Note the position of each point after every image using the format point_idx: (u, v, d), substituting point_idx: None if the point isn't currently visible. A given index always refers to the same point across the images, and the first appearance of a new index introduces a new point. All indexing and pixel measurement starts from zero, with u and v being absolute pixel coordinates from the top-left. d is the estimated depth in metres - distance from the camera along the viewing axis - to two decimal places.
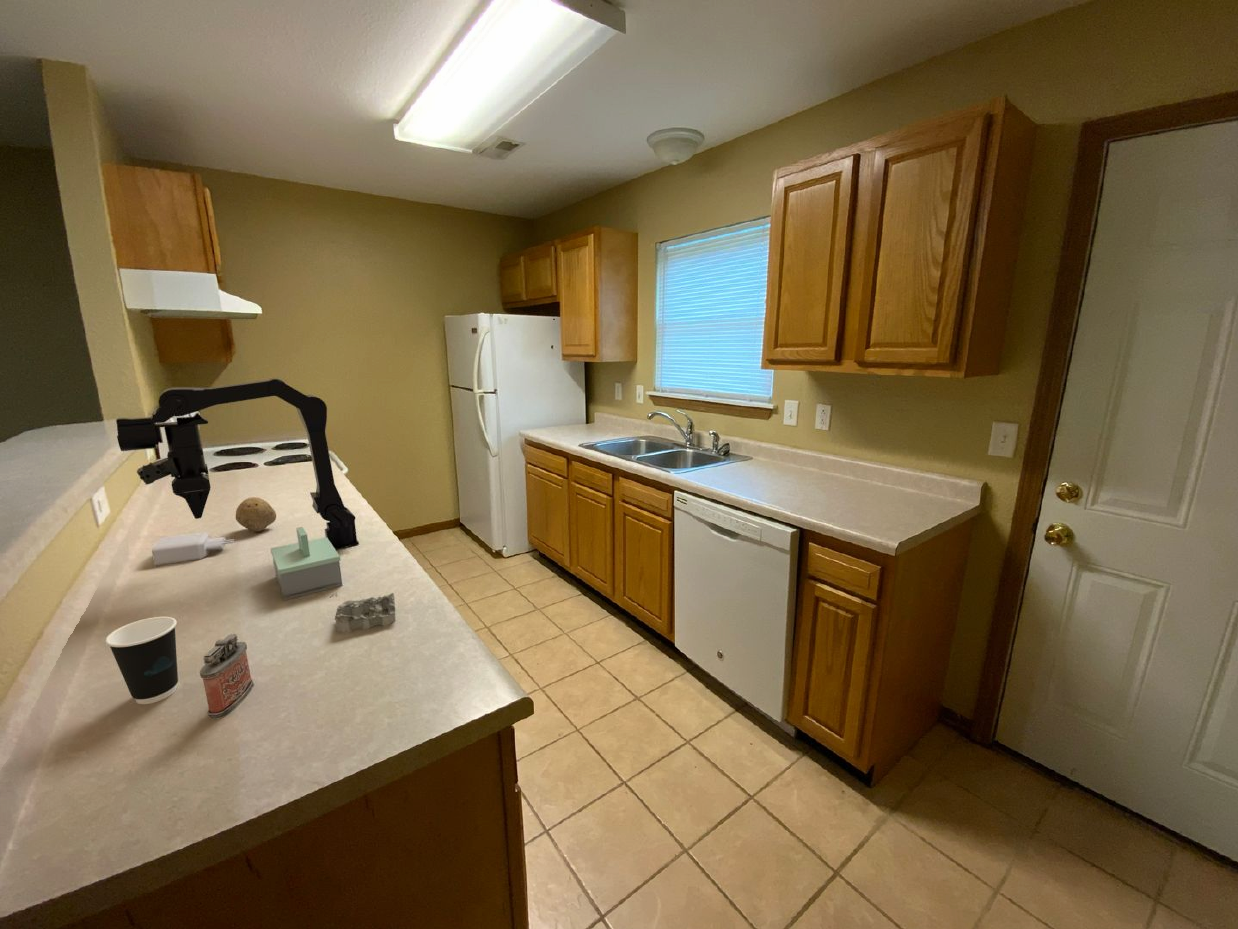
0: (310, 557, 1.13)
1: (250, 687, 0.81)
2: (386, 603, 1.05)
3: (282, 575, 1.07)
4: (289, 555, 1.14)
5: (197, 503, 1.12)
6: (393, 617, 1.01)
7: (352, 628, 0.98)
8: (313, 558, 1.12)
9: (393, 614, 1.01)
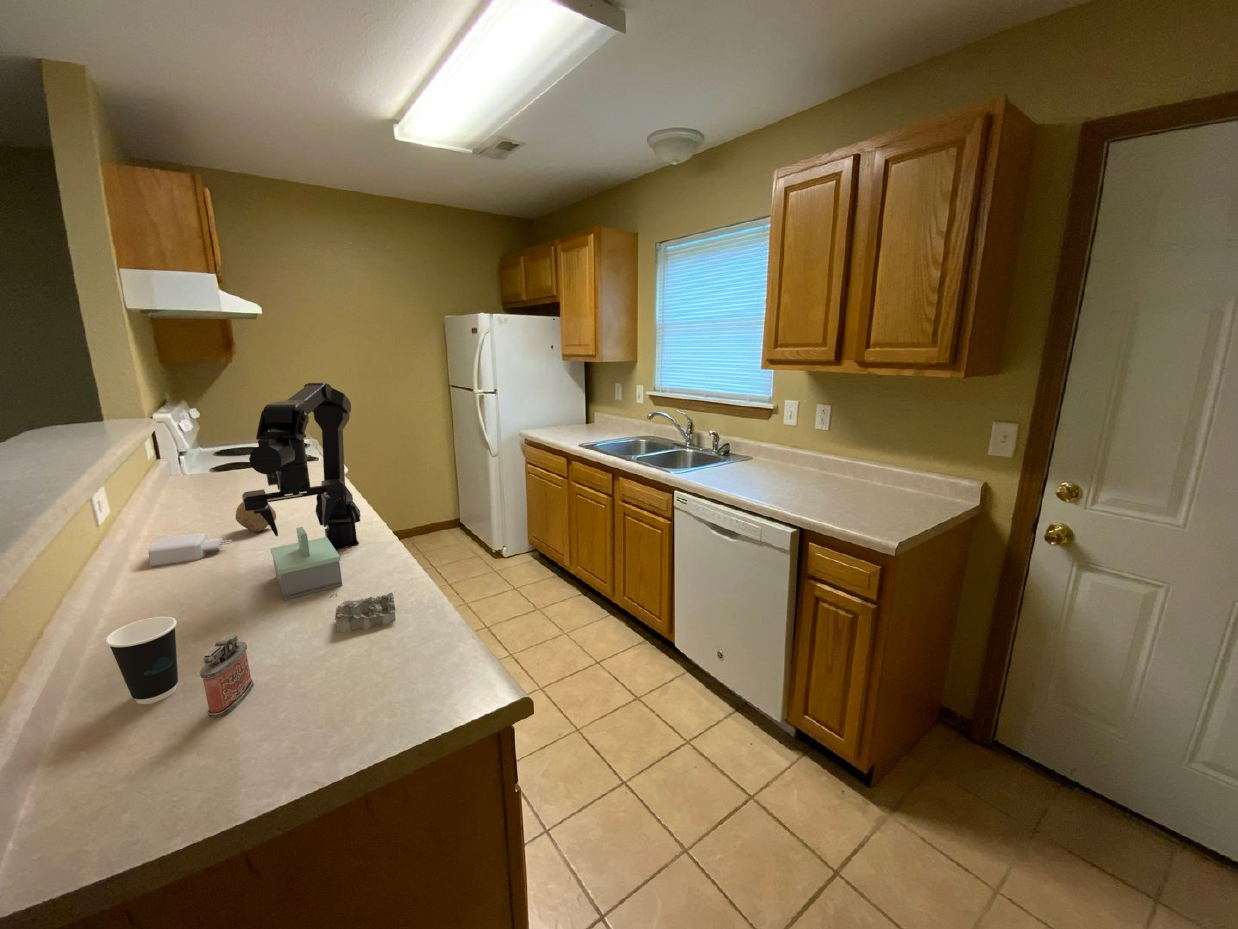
0: (310, 557, 1.13)
1: (250, 687, 0.81)
2: (385, 602, 1.06)
3: (282, 575, 1.07)
4: (289, 555, 1.14)
5: None
6: (393, 616, 1.01)
7: (352, 628, 0.98)
8: (313, 558, 1.12)
9: (393, 613, 1.01)
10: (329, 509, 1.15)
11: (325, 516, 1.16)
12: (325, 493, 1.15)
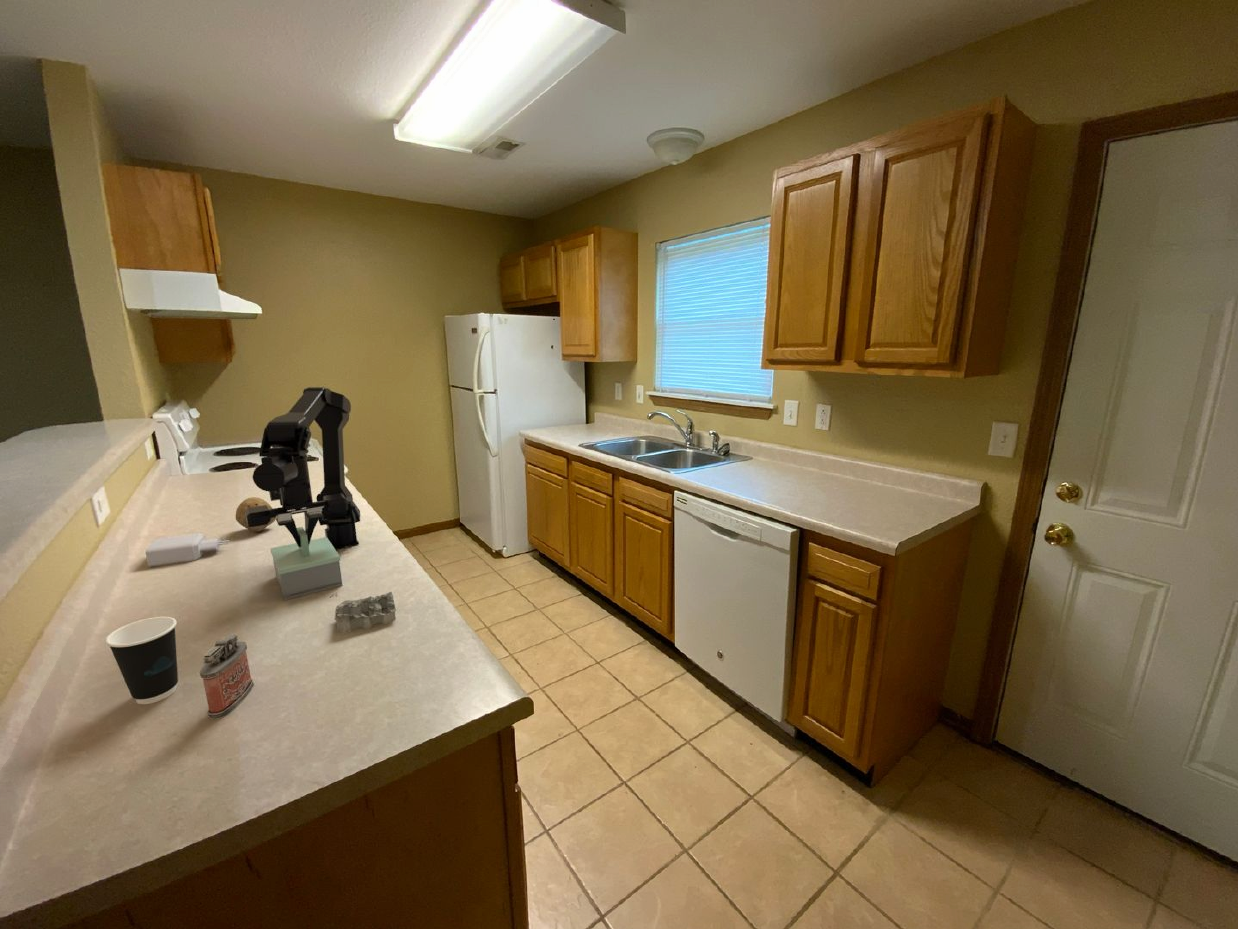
0: (310, 557, 1.13)
1: (250, 687, 0.81)
2: (384, 602, 1.06)
3: (282, 575, 1.07)
4: (289, 555, 1.14)
5: None
6: (393, 615, 1.02)
7: (353, 627, 0.98)
8: (313, 558, 1.12)
9: (393, 612, 1.02)
10: (312, 528, 1.14)
11: (308, 535, 1.14)
12: (308, 511, 1.14)
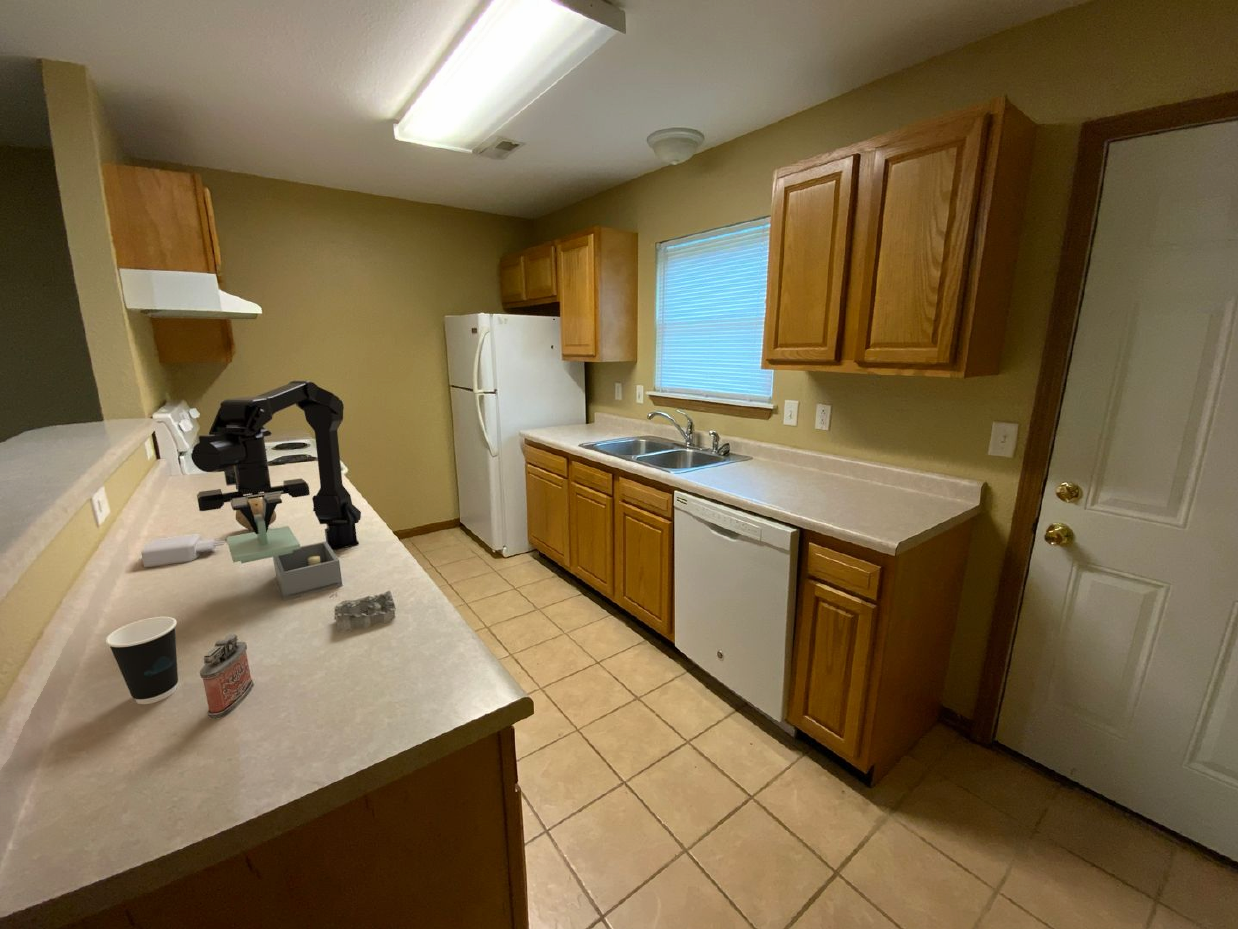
0: (267, 545, 1.07)
1: (250, 687, 0.81)
2: (382, 601, 1.06)
3: (282, 575, 1.07)
4: (246, 543, 1.08)
5: None
6: (393, 614, 1.02)
7: (353, 627, 0.98)
8: (270, 546, 1.06)
9: (393, 611, 1.02)
10: (270, 513, 1.08)
11: (265, 521, 1.08)
12: (265, 496, 1.08)
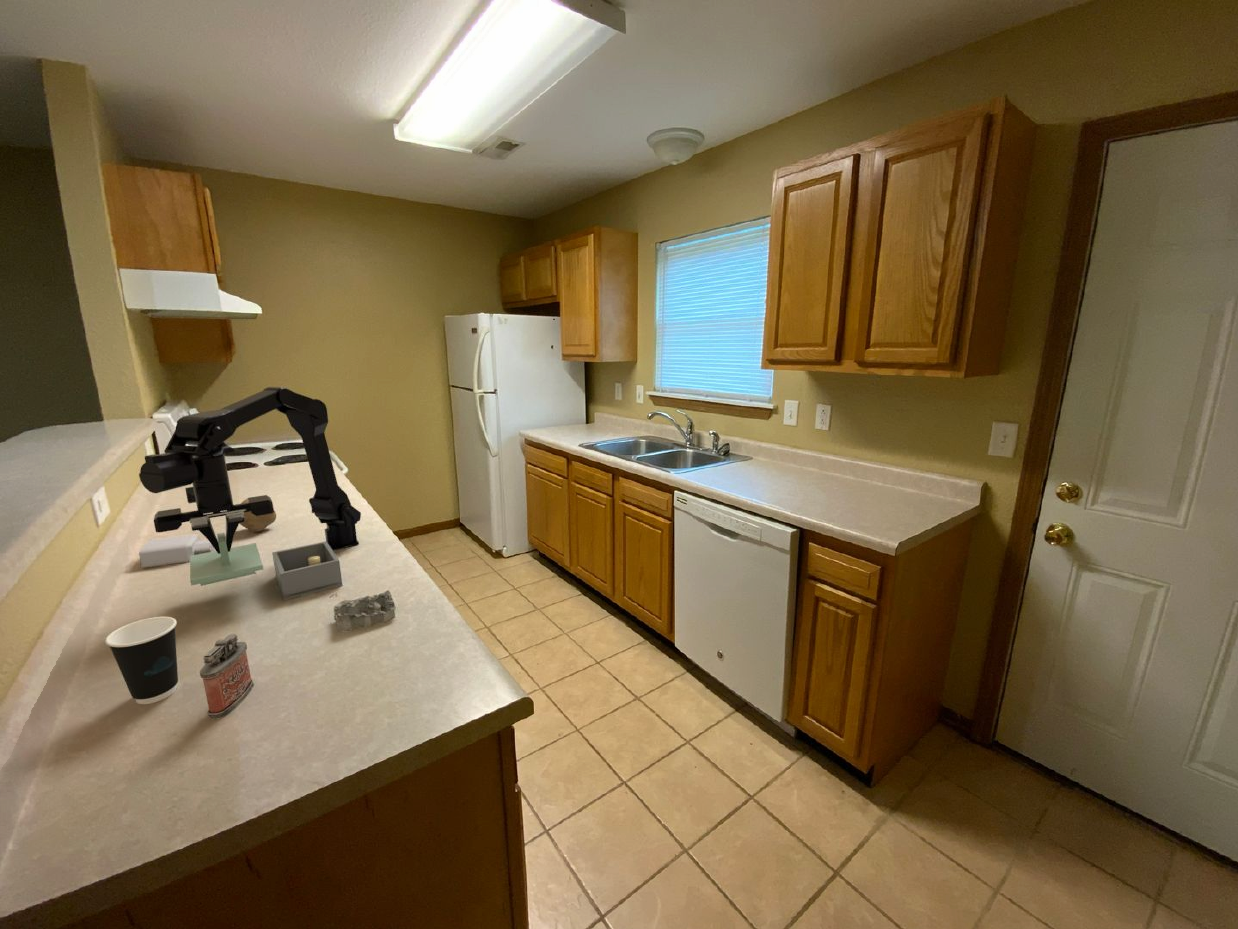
0: (229, 566, 1.04)
1: (250, 687, 0.81)
2: (382, 601, 1.06)
3: (282, 575, 1.07)
4: (208, 564, 1.05)
5: None
6: (393, 613, 1.02)
7: (353, 626, 0.98)
8: (232, 567, 1.03)
9: (393, 610, 1.02)
10: (232, 532, 1.05)
11: (228, 540, 1.05)
12: (227, 515, 1.05)
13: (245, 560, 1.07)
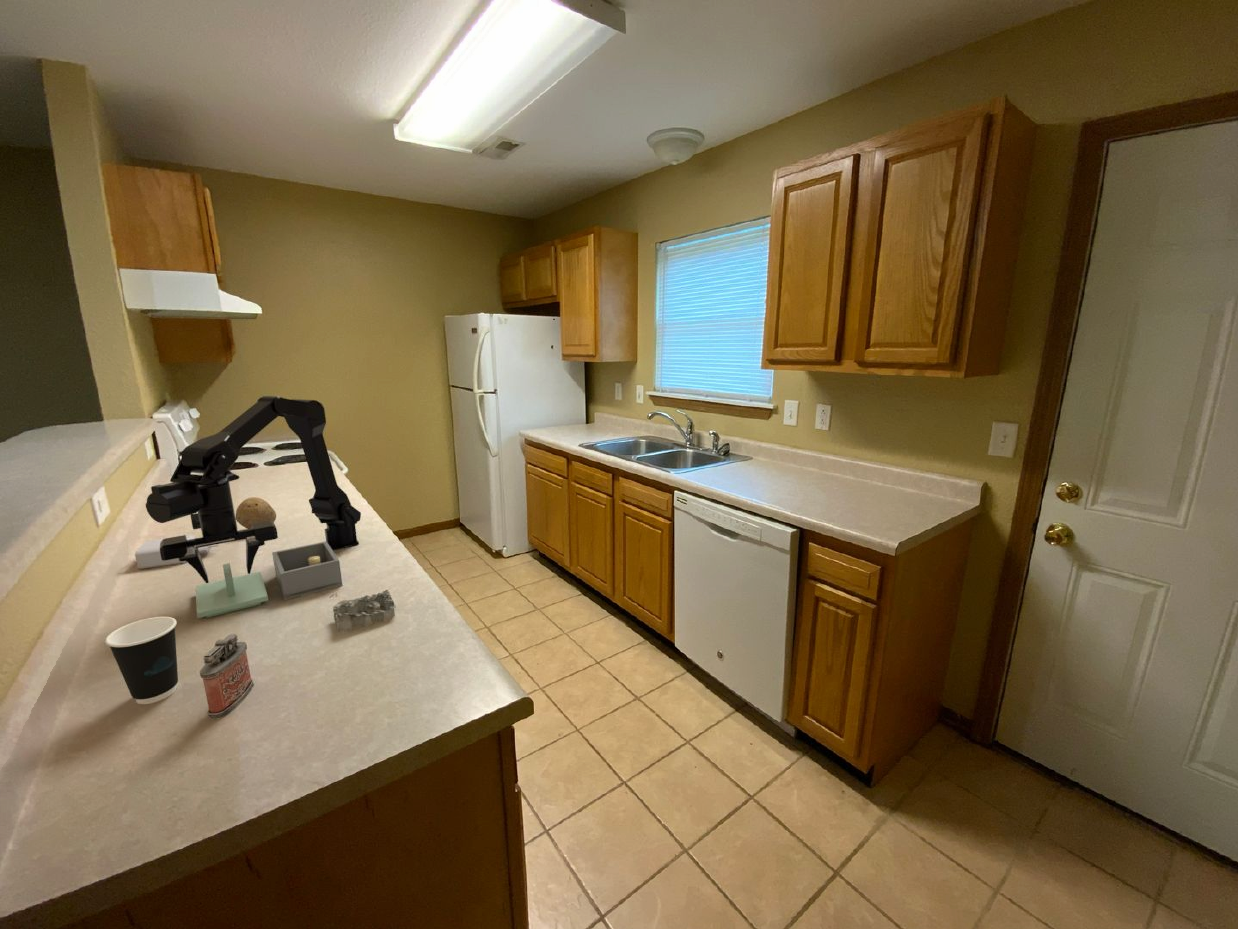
0: (235, 597, 1.05)
1: (250, 687, 0.81)
2: (380, 600, 1.06)
3: (282, 575, 1.07)
4: (213, 594, 1.06)
5: None
6: (393, 612, 1.03)
7: (353, 626, 0.99)
8: (237, 599, 1.05)
9: (393, 609, 1.03)
10: (252, 555, 1.08)
11: (248, 563, 1.08)
12: (248, 538, 1.08)
13: (250, 591, 1.08)
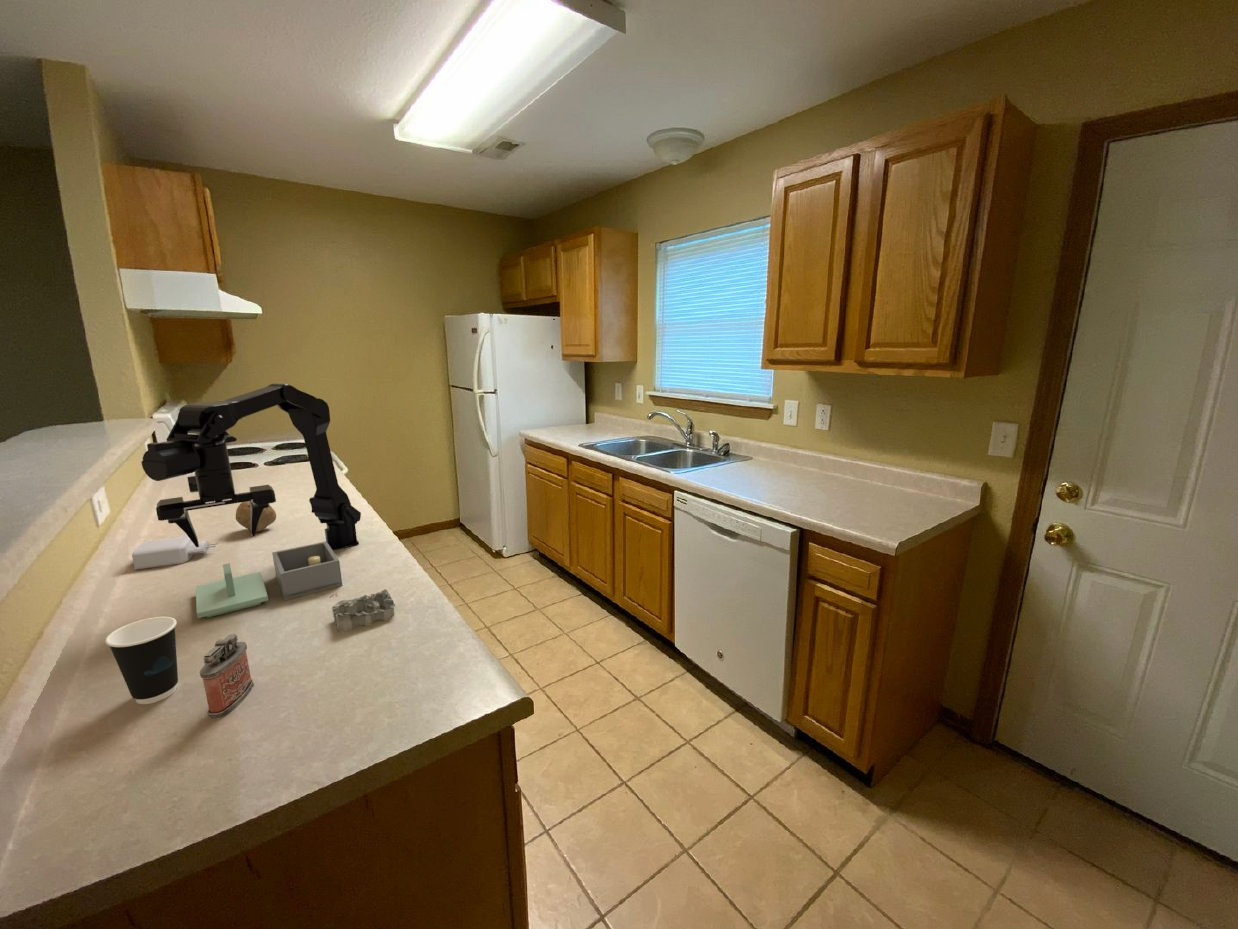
0: (235, 597, 1.05)
1: (250, 687, 0.81)
2: (379, 600, 1.07)
3: (282, 575, 1.07)
4: (213, 595, 1.06)
5: None
6: (392, 611, 1.03)
7: (353, 625, 0.99)
8: (237, 599, 1.05)
9: (392, 608, 1.03)
10: (256, 517, 1.07)
11: (252, 525, 1.07)
12: (252, 500, 1.07)
13: (250, 591, 1.08)
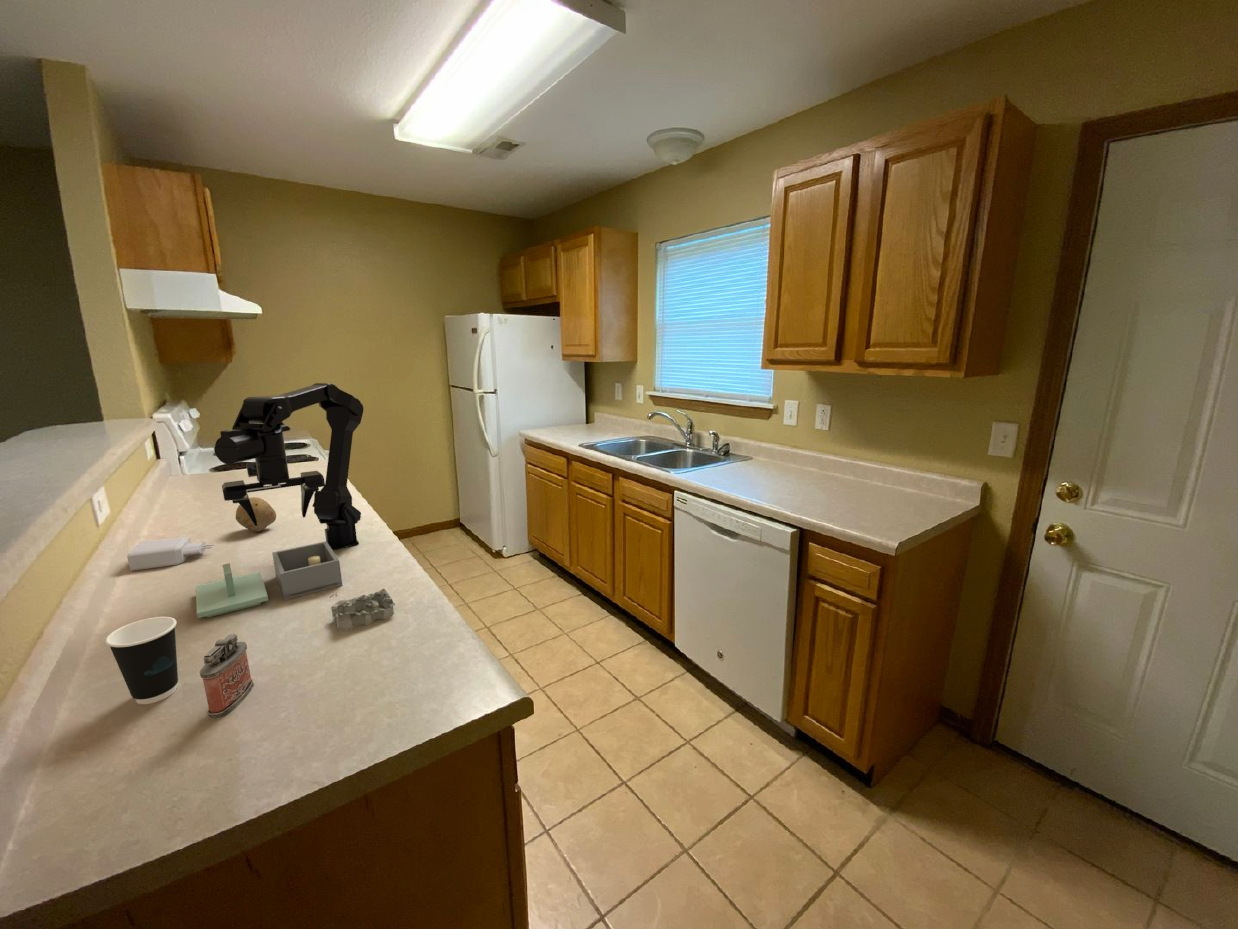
0: (235, 597, 1.05)
1: (250, 687, 0.81)
2: (377, 599, 1.07)
3: (282, 575, 1.07)
4: (213, 595, 1.06)
5: None
6: (392, 610, 1.03)
7: (354, 625, 0.99)
8: (237, 599, 1.05)
9: (392, 607, 1.03)
10: (308, 500, 1.18)
11: (304, 507, 1.19)
12: (304, 484, 1.18)
13: (250, 591, 1.08)
